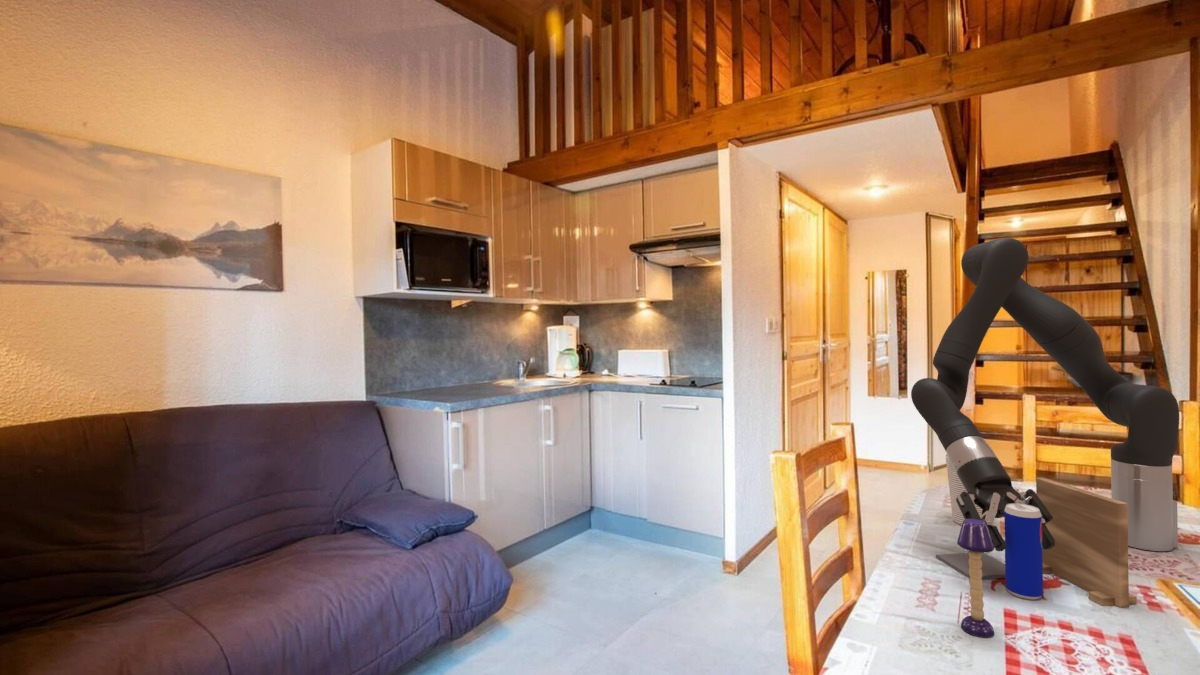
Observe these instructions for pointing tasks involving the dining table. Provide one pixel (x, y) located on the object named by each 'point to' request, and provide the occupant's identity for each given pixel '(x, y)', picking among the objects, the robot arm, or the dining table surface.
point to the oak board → (1087, 541)
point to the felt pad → (961, 564)
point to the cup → (956, 493)
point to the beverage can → (1023, 551)
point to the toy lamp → (976, 574)
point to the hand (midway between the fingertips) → (1026, 548)
